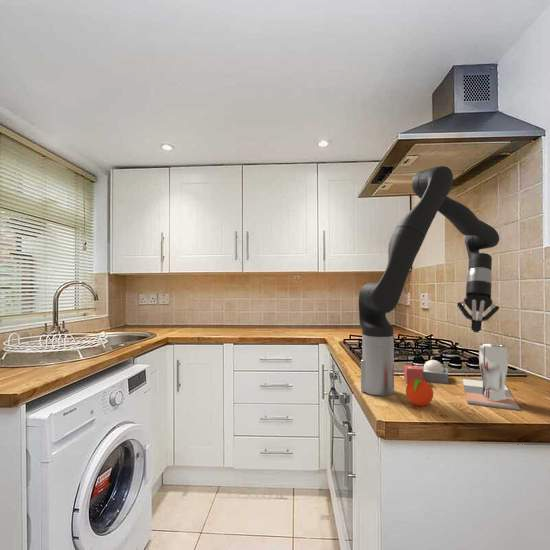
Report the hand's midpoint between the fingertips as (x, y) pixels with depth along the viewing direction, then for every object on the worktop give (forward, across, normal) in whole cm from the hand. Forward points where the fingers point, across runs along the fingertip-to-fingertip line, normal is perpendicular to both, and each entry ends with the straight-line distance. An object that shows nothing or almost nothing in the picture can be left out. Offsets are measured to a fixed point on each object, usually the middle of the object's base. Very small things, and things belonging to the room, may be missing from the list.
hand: (476, 332), depth 118 cm
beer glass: (+21, +4, -13) cm, 25 cm away
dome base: (+17, -12, +4) cm, 21 cm away
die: (+20, -18, -4) cm, 27 cm away
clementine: (+27, -14, -26) cm, 40 cm away
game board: (+19, +4, -6) cm, 20 cm away
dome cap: (+17, -12, +4) cm, 21 cm away
